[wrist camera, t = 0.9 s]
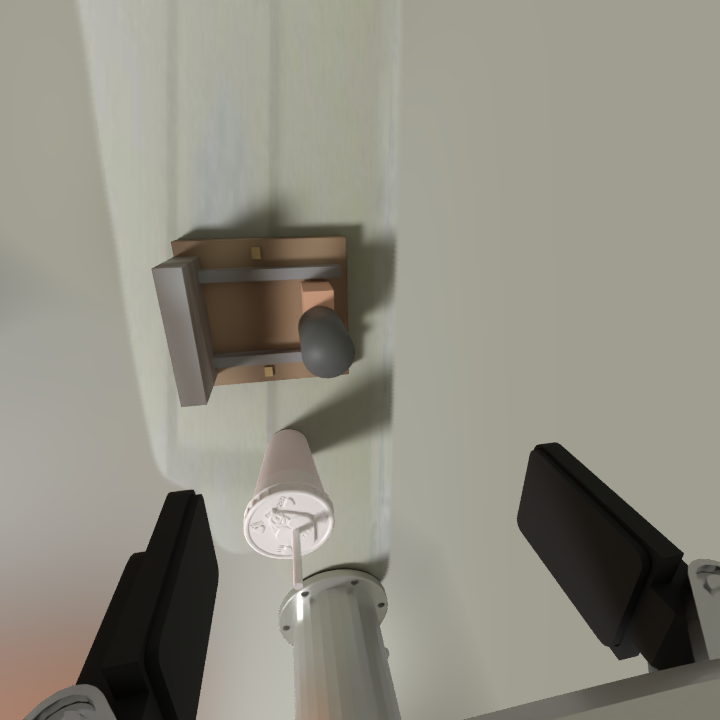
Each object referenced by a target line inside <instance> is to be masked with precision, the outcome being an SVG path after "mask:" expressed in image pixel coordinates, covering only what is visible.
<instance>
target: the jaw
mask: <svg viewBox="0 0 720 720" xmlns="http://www.w3.org/2000/svg"><path fill="white" fill-rule="evenodd" d="M301 295H302V309H303V315H302V316H301V318H300V320H299V323H298V332H299V339H300V347H301V354H302V360H303V363H304V365H305V367H306V368H307V370H308V371H309V372H310V373H312V374H313V375H315V376H318V377H321V378H333V377H337V376H339V375H341V374H343V373H344V372H345V371H347V370H348V368H349V367H350V366H351V364H352V362H353V360H354V355H355V349H354V345H353V343H352V341H351V339H350V337H349V335H348V333H347V331H346V329H345V327H344V325H343V323H342V321H341V319H340V317H339V315H338V314H337V313H336V312H335V311H334V290H333V289H332V287H331V285H330V283H329V282H328V280H321V281H301Z"/></svg>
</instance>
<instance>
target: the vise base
mask: <svg viewBox="0 0 720 720" xmlns="http://www.w3.org/2000/svg"><path fill="white" fill-rule="evenodd" d="M171 245H172V250H173V255H174V257H173V258H171V259H169V260H167V261H165V262H163V263H161V264H159V265H158V266H156V267H154V268H152V273H153V278H154V283H155V287H156V292H157V297H158V301H159V306H160V310H161V315H162V320H163V324H164V329H165V334H166V338H167V343H168V348H169V352H170V357H171V362H172V366H173V371H174V375H175V380H176V385H177V389H178V394H179V399H180V403H181V407H187V406H197V405H207V403H208V400H209V397H210V394H211V392H212V389H213V386H217V385H229V384H240V383H252V382H263V381H275V380H286V379H298V378H309V377H318V376H315V375H313V374H312V373H310V372H309V371H308V370H307V368H306V367H305V365H304V363H303V360H302V354H301V347H300V339H299V332H298V323H299V320H300V318H301V316H302V315H303V309H302V295H301V281H321V280H328V282H329V283H330V285H331V287H332V289H333V290H334V311H335V312H336V313H337V314H338V315H339V317H340V319H341V321H342V323H343V325H344V327H345V329H346V331H347V333H348V312H347V266H346V237H344V236H310V237H270V238H230V239H189V240H175V241H172V242H171ZM343 374H349V368H348V370H347V371H345V372H344V373H343ZM343 374H341V375H343Z"/></svg>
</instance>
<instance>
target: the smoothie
mask: <svg viewBox="0 0 720 720" xmlns="http://www.w3.org/2000/svg"><path fill="white" fill-rule="evenodd" d="M333 527H334V510H333V503H332V501H331V500H330V498H329V496H328V495H327V494H326V493H325V492H324V489H323V486H322V484H321V481H320V478H319V475H318V472H317V469H316V466H315V463H314V460H313V457H312V454H311V451H310V448H309V445H308V442H307V439H306V437H305V436H304V435H303V434H302V433H300V432H299V431H296V430H292V429H286V430H281V431H279V432H277V433H275V434H274V435H273V436H272V437H271V438H270V440H269V442H268V445H267V449H266V452H265V456H264V460H263V463H262V467H261V471H260V474H259V478H258V482H257V485H256V489H255V492H254V496H253V498H252V500H251V501H250V502H249V503H248V505H247V508H246V510H245V512H244V535H245V538H246V540H247V542H248V544H249V545H250V546H251V547H252V548H253V549H254V550H255V551H257V552H259V553H260V554H262V555H265V556H267V557H271V558H277V559H291V558H293V579H294V589H296V590H299V589H301V588H302V587H303V576H302V559H301V556H303V555H306V554H309V553H310V552H312V551H314V550H316V549H317V548H319V547H320V546H321V545H322V544H323V543H324V542H325V541H326V540H327V539H328V538H329V536H330V534H331V532H332V530H333Z"/></svg>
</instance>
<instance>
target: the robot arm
mask: <svg viewBox="0 0 720 720" xmlns="http://www.w3.org/2000/svg"><path fill="white" fill-rule="evenodd" d="M517 523H518V527H519V529H520V531H521V532H522V534H523V535H524V536H525V538H526V539H527V541H528V542H529V543H530V545H531V546H532V548H533V549H534V550H535V552H536V553H537V554H538V556H539V557H540V559H541V560H542V561H543V563H544V564H545V566H546V567H547V568H548V570H549V571H550V572H551V574H552V575H553V577H554V578H555V579H556V581H557V582H558V584H559V585H560V586H561V588H562V589H563V591H564V592H565V593H566V595H567V596H568V597H569V599H570V600H571V602H572V603H573V604H574V606H575V607H576V609H577V610H578V611H579V613H580V614H581V615H582V617H583V618H584V620H585V621H586V622H587V624H588V625H589V627H590V628H591V629H592V631H593V632H594V634H595V635H596V636H597V638H598V639H599V640H600V641H601V643H602V644H604V645H605V646H608V647H610V649H611V650H612V651H613V653H614V654H615V656H616V657H617V658H618V659H619V660H622V659H627V658H631V657H635V656H638V655H639V653H641V654H642V655H643V656H644V658H645V659H646V660H647V661H648V669H649V673H647V674H643V675H639V676H635V677H631V678H627V679H623V680H619V681H615V682H611V683H607V684H603V685H599V686H595V687H591V688H587V689H583V690H579V691H575V692H571V693H567V694H563V695H559V696H555V697H551V698H547V699H543V700H539V701H535V702H531V703H527V704H524V705H519V706H516V707H511V708H507V709H504V710H500V711H496V712H492V713H488V714H484V715H480V716H476V717H472V718H468V719H464V720H720V562H717V561H713V560H709V559H698V560H695V561H692V562H691V563H690V564H689V566H688V565H687V564H686V563H685V562H684V561H683V560H682V557H683V555H684V553H683V552H682V551H681V550H679V549H678V548H677V547H676V546H675V545H674V544H672V542H670V541H669V540H668V539H667V538H666V537H665V536H664V535H662V534H661V533H660V532H659V531H658V530H657V529H656V528H654V527H653V526H652V525H651V524H650V523H649V522H648V521H647V520H645V519H644V518H643V517H642V516H641V515H640V514H639V513H638V512H636V511H635V510H634V509H633V508H632V507H631V506H629V505H628V504H627V503H626V502H625V501H624V500H623V499H622V498H620V497H619V496H618V495H617V494H616V493H615V492H614V491H613V490H611V489H610V488H609V487H608V486H607V485H606V484H605V483H603V482H602V481H601V480H600V479H599V478H598V477H597V476H595V475H594V474H593V473H592V472H591V471H590V470H589V469H588V468H586V467H585V466H584V465H583V464H582V463H581V462H580V461H579V460H577V459H576V458H575V457H574V456H573V455H572V454H570V453H569V452H568V451H567V450H566V449H565V448H564V447H562V445H560V444H558V443H555V442H554V443H547V444H539V445H536V447H535V448H534V450H533V451H531V453H530V456H529V461H528V466H527V471H526V476H525V481H524V486H523V491H522V496H521V501H520V506H519V511H518V516H517ZM218 573H219V572H218V564H217V559H216V555H215V551H214V546H213V541H212V536H211V531H210V527H209V522H208V518H207V513H206V508H205V504H204V499H203V496H202V494H198V495H195V492H194V490H184V491H177V492H170V493H168V495H167V497H166V500H165V502H164V505H163V508H162V510H161V513H160V515H159V518H158V521H157V523H156V526H155V529H154V531H153V534H152V536H151V539H150V542H149V544H148V547H147V550H146V551H145V552H139V553H134V554H133V555H132V556H131V557H130V559H129V561H128V562H127V564H126V566H125V569H124V571H123V574H122V576H121V578H120V581H119V583H118V586H117V588H116V590H115V593H114V595H113V597H112V600H111V602H110V605H109V607H108V609H107V612H106V614H105V616H104V619H103V621H102V624H101V626H100V628H99V631H98V633H97V635H96V638H95V640H94V643H93V645H92V648H91V650H90V652H89V654H88V657H87V659H86V661H85V664H84V666H83V669H82V671H81V673H80V676H79V678H78V681H77V683H76V685H74V686H71V687H68V688H65V689H63V690H60V691H58V692H56V693H55V694H53V695H52V696H50V697H48V698H47V699H45V700H44V701H42V702H41V703H40V704H39V705H38V706H37V707H35V708H34V709H33V710H32V711H31V712H30V713H29V714H28V715H27V716H26V717H25V718H24V719H23V720H196V715H197V709H198V702H199V696H200V690H201V684H202V678H203V672H204V666H205V659H206V654H207V647H208V641H209V635H210V629H211V623H212V617H213V611H214V604H215V598H216V592H217V586H218V576H219V574H218ZM387 606H388V603H387V597H386V594H385V590H384V588H383V586H382V584H381V583H380V582H379V581H378V580H377V579H376V578H375V577H373V576H371V575H369V574H367V573H364V572H361V571H358V570H350V569H338V570H332V571H326V572H323V573H320V574H317V575H314V576H312V577H310V578H308V579H306V580H304V581H303V587H302V588H301V589H299V590H296V589H294V588H293V589H292V590H291V591H290V592H289V593H288V595H287V596H286V597H285V599H284V600H283V602H282V604H281V606H280V610H279V630H280V632H281V634H282V636H283V637H284V638H285V639H286V641H287V642H289V643H290V644H292V645H293V647H294V648H293V650H294V651H293V652H294V686H295V720H401V716H400V712H399V707H398V703H397V698H396V694H395V690H394V686H393V681H392V677H391V673H390V668H389V664H388V660H387V659H388V657H389V651H388V649H387V648H386V647H384V643H383V638H382V634H381V630H380V624H381V622H382V621H383V619H384V617H385V615H386V612H387Z"/></svg>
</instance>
